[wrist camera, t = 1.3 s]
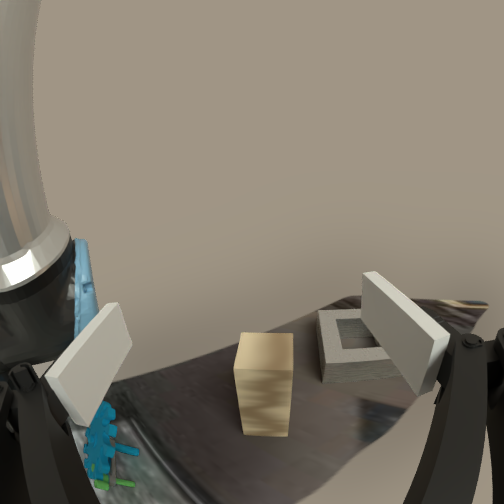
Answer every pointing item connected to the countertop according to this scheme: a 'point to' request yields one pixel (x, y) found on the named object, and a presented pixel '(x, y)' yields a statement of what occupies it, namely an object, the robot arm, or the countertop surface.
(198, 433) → the countertop surface
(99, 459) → the blue lumpy piece
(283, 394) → the upright pine post
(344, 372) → the grey square frame block
